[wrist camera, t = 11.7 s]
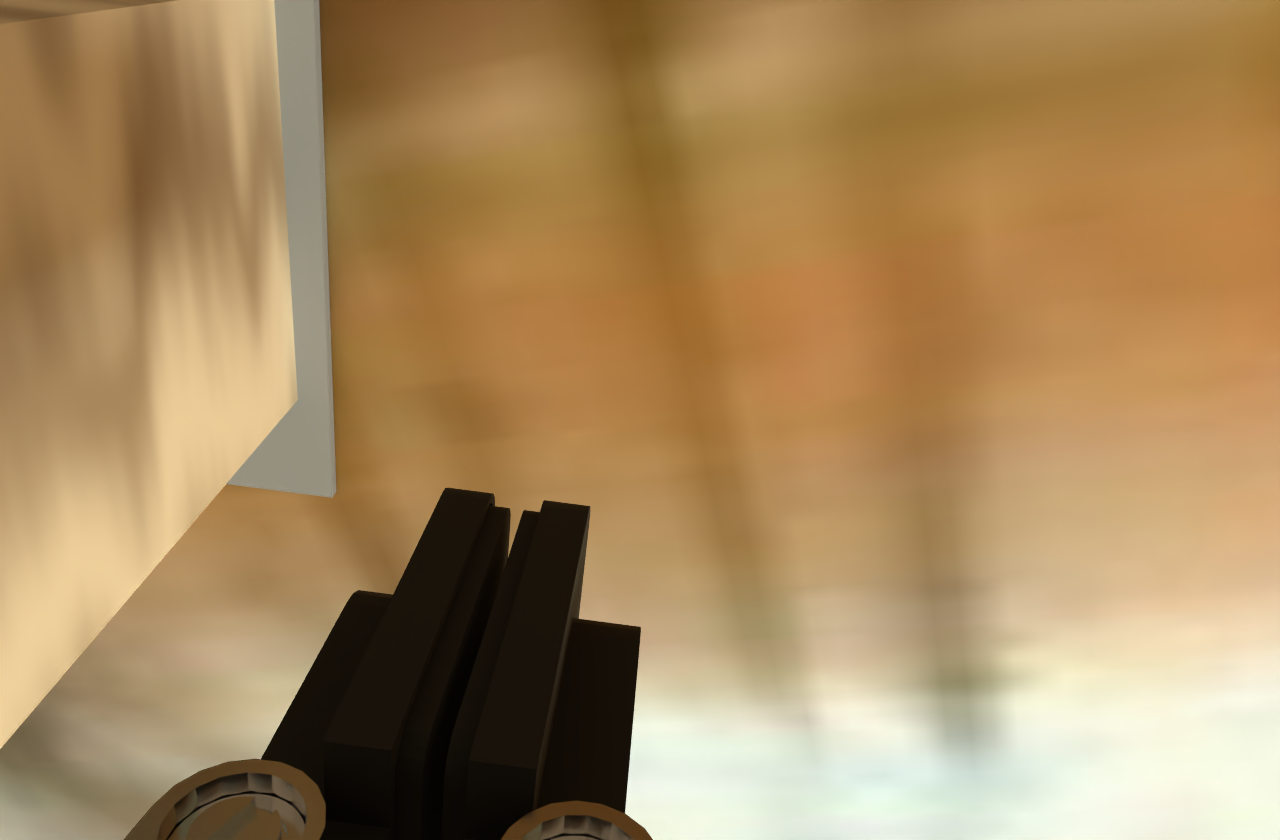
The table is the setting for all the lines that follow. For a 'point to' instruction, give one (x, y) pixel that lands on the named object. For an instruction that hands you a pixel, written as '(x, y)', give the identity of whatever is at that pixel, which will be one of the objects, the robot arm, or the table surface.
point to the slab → (129, 300)
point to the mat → (302, 270)
